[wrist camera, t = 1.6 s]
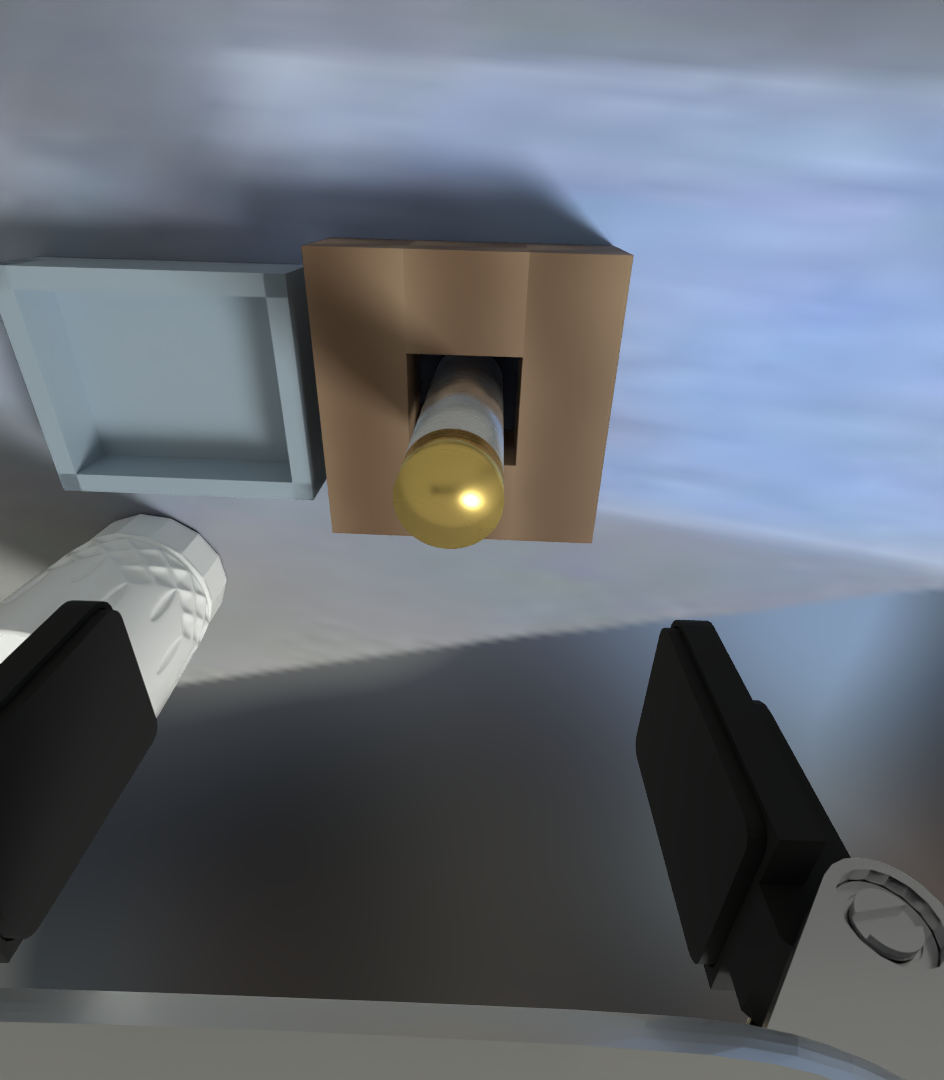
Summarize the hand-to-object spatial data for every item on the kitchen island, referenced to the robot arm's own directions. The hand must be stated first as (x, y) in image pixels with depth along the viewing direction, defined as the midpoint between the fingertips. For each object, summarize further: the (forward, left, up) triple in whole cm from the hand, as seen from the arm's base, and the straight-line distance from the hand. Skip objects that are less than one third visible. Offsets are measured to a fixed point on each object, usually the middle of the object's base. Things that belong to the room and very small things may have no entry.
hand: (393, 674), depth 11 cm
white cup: (+16, +10, -18) cm, 26 cm away
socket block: (0, 0, -18) cm, 18 cm away
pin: (0, 0, -18) cm, 18 cm away
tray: (+12, 0, -18) cm, 21 cm away
